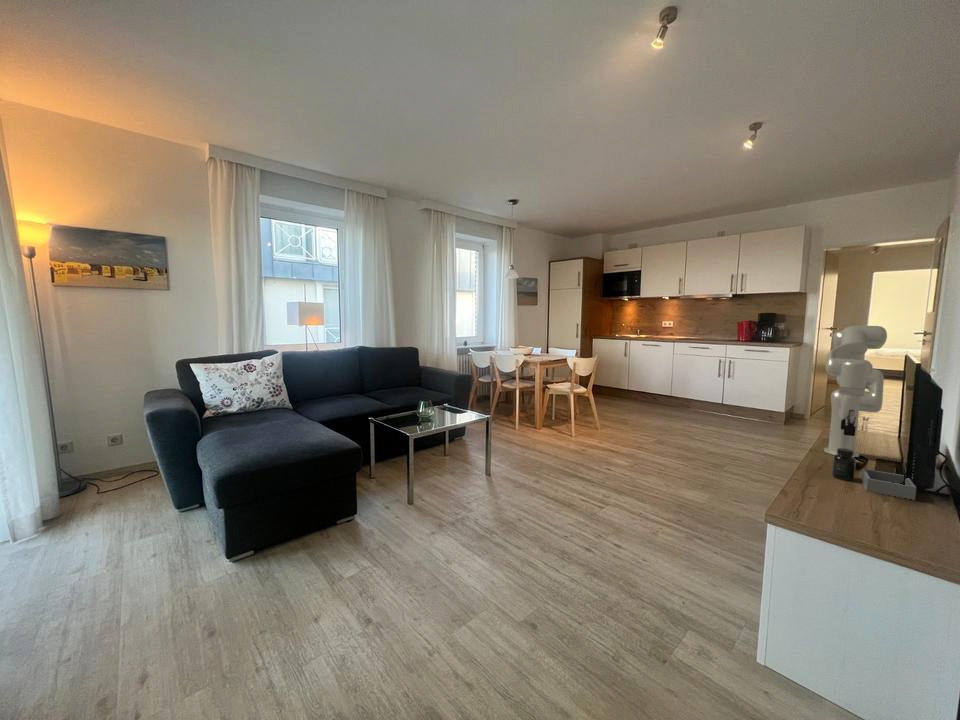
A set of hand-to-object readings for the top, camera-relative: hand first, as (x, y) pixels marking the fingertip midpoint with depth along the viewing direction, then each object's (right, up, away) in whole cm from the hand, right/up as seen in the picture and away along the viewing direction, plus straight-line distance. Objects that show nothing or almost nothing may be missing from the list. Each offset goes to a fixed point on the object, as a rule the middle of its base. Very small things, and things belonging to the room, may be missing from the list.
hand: (847, 432), depth 159 cm
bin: (+7, -21, -9) cm, 23 cm away
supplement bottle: (0, -20, +3) cm, 20 cm away
